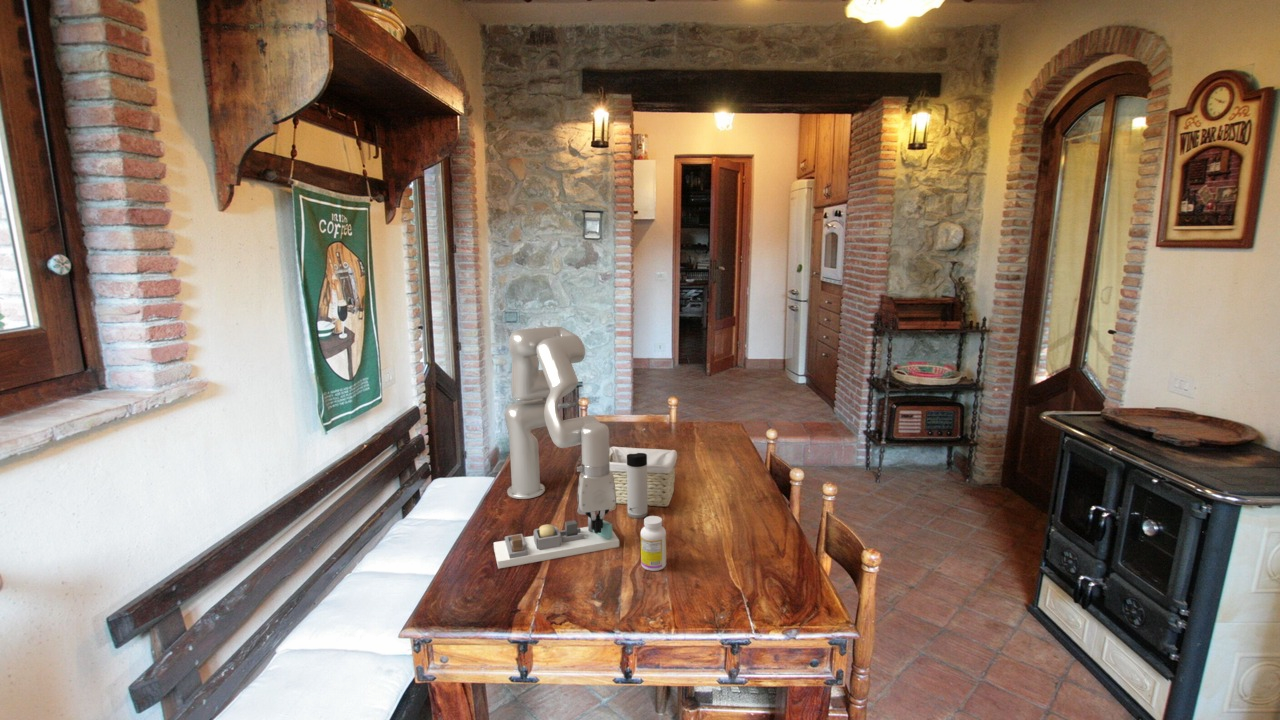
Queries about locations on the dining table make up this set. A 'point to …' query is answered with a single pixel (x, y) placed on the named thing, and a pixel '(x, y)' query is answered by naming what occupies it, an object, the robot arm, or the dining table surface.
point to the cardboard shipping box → (517, 543)
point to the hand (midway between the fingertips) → (597, 530)
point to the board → (550, 546)
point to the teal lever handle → (602, 529)
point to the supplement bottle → (653, 544)
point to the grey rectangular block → (571, 528)
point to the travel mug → (637, 485)
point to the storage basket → (657, 473)
